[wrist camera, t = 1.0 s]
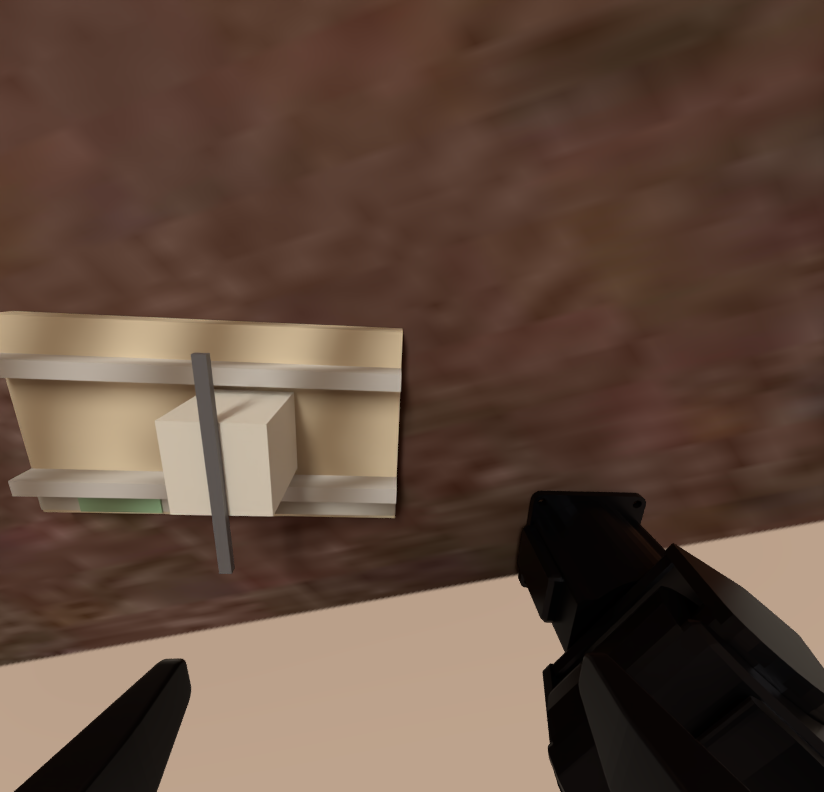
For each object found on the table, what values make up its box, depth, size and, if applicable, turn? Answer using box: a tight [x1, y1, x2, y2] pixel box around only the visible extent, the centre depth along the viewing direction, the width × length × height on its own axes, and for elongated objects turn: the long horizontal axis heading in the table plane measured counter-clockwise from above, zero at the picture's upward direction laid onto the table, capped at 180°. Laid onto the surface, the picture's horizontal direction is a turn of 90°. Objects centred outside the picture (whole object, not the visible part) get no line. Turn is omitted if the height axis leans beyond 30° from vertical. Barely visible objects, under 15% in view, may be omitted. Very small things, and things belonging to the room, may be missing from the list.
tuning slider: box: [155, 353, 298, 574], centre depth 16 cm, size 4×9×4 cm, turn 177°
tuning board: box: [0, 311, 403, 518], centre depth 18 cm, size 18×10×2 cm, turn 87°
